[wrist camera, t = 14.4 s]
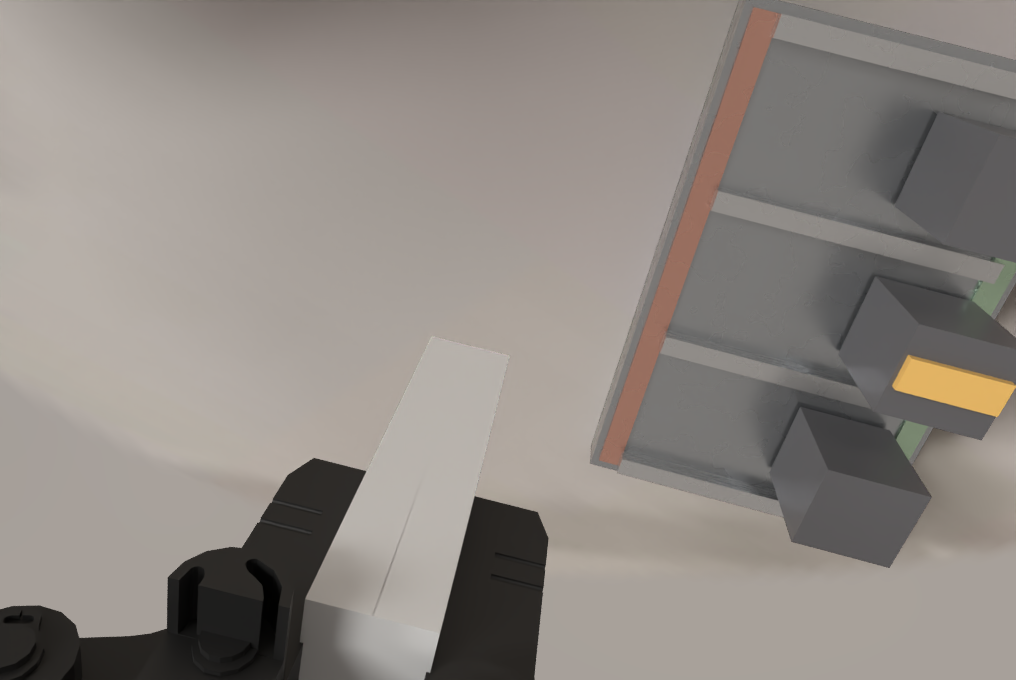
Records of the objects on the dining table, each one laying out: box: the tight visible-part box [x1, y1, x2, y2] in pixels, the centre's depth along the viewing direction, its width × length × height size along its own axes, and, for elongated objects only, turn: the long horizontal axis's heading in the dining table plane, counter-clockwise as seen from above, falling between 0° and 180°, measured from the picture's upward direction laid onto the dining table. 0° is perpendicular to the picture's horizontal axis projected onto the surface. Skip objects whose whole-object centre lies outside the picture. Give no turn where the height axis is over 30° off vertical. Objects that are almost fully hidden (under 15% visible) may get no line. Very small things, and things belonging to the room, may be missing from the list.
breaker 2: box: [838, 276, 1016, 440], centre depth 35 cm, size 5×4×6 cm
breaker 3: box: [769, 407, 932, 568], centre depth 39 cm, size 5×4×6 cm
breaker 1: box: [895, 112, 1016, 263], centre depth 32 cm, size 5×4×6 cm
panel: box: [590, 0, 1016, 518], centre depth 39 cm, size 17×26×3 cm, turn 167°
